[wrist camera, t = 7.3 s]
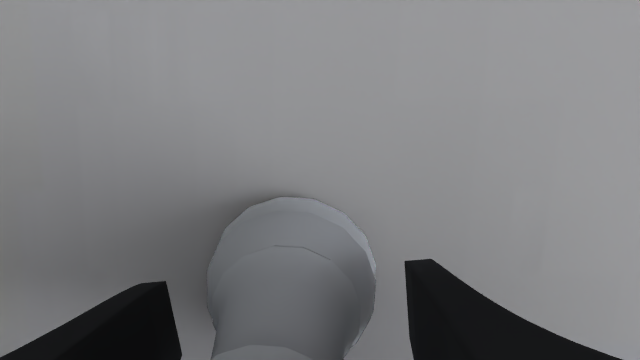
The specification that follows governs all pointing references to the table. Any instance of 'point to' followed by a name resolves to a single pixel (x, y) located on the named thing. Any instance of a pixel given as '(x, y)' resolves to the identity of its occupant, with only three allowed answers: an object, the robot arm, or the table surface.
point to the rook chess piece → (290, 283)
